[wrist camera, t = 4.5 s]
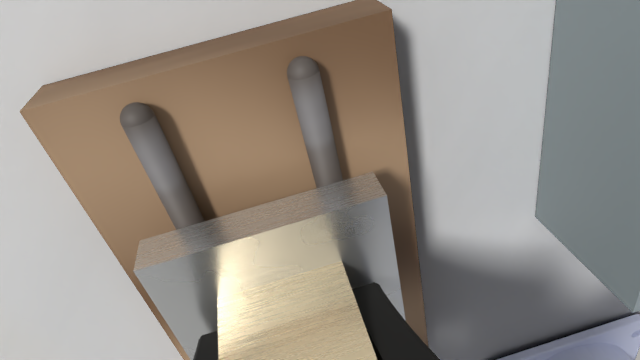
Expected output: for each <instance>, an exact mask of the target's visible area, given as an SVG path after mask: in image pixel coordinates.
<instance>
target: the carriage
mask: <svg viewBox="0 0 640 360" xmlns="http://www.w3.org/2000/svg"><path fill="white" fill-rule="evenodd" d="M133 272H134V273H135V275H136V276H137V278H138V279H139V281H140V282H141V284H142V286H143V287H144V289H145V290H146V292H147V293H148V295H149V296H150V298H151V299H152V301H153V303H154V304H155V306H156V307H157V309H158V310H159V312H160V313H161V315H162V316H163V318H164V320H165V321H166V323H167V324H168V326H169V327H170V329H171V330H172V332H173V333H174V335H175V337H176V338H177V340H178V341H179V343H180V344H181V346H182V347H183V349H184V350H185V352H186V354H187V355H188V357H189V358H190V360H193V358H194V355H195V351H196V348H197V344H198V340H199V339H200V337H201V336H202V335H205V334H208V333H211V332H214V331H217V330H218V360H377V357H376V355H375V352H374V349H373V346H372V344H371V341H370V338H369V335H368V333H367V330H366V327H365V324H364V321H363V319H362V316H361V313H360V310H359V308H358V305H357V302H356V299H355V296H354V294H353V291H352V289H353V288H357V287H360V286H363V285H366V284H370V283H373V282H375V283H378V284H379V285H380V286H381V288H382V290H383V291H384V293H385V294H386V296H387V297H388V299H389V300H390V301H391V303H392V304H393V306H394V307H395V308H396V310H397V311H398V312H399V313H400V315H401V316H402V317H403V318H404V320H405V321H406V319H405V313H404V306H403V299H402V293H401V286H400V279H399V273H398V266H397V259H396V253H395V246H394V239H393V233H392V226H391V219H390V213H389V206H388V199H387V195H386V193H385V191H384V190H383V188H382V186H381V184H380V183H379V181H378V179H377V178H376V176H375V174H374V173H373V172H370V173H366V174H363V175H360V176H356V177H353V178H350V179H346V180H343V181H339V182H336V183H333V184H329V185H326V186H323V187H319V188H316V189H312V190H309V191H306V192H302V193H299V194H295V195H292V196H289V197H285V198H282V199H279V200H275V201H272V202H268V203H265V204H262V205H258V206H255V207H252V208H248V209H245V210H241V211H238V212H235V213H231V214H228V215H225V216H221V217H218V218H214V219H211V220H208V221H204V222H201V223H197V224H194V225H191V226H187V227H184V228H181V229H177V230H174V231H170V232H167V233H164V234H160V235H157V236H154V237H150V238H147V239H143V240H140V241H139V246H138V251H137V256H136V261H135V265H134V270H133Z"/></svg>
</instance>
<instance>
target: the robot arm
mask: <svg viewBox="0 0 640 360" xmlns="http://www.w3.org/2000/svg"><path fill="white" fill-rule="evenodd" d="M352 291H353V294H354V296H355V299H356V302H357V305H358V308H359V310H360V313H361V316H362V319H363V321H364V324H365V327H366V330H367V333H368V335H369V338H370V341H371V344H372V346H373V349H374V352H375V355H376V357H377V360H440V359H439V358H438V357H437V356H436V355H435V354H434V353H433V352H432V351H431V350H430V348H429V347H428V346H427V345H426V344H425V343H424V342H423V341H422V340H421V339H420V337H419V336H418V335H417V334H416V333H415V332H414V331H413V329H412V328H411V327H410V326H409V325H408V323H407V322H406V321H405V320H404V318H403V317H402V316H401V315H400V313H399V312H398V311H397V310H396V308H395V307H394V306H393V304H392V303H391V301H390V300H389V299H388V297H387V296H386V294H385V293H384V291H383V290H382V288H381V286H380V285H379V284H378V283H375V282H373V283H370V284H366V285H363V286H360V287H357V288H353V289H352ZM639 347H640V314H635V315H631V316H628V317H625V318H622V319H619V320H616V321H613V322H610V323H607V324H604V325H601V326H598V327H595V328H592V329H588V330H585V331H582V332H579V333H576V334H573V335H570V336H567V337H564V338H561V339H558V340H555V341H552V342H549V343H546V344H543V345H540V346H536V347H533V348H530V349H527V350H524V351H521V352H518V353H515V354H512V355H509V356H506V357H503V358H500V359H497V360H635V358H636V356H637V353H638V350H639ZM193 360H218V330H217V331H214V332H211V333H208V334H205V335H202V336H201V337H200V339H199V340H198V344H197V348H196V351H195V355H194V358H193Z"/></svg>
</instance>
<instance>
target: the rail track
mask: <svg viewBox="0 0 640 360" xmlns="http://www.w3.org/2000/svg"><path fill="white" fill-rule="evenodd" d="M20 113H21V114H22V116H23V117H24V119H25V120H26V122H27V123H28V125H29V127H30V128H31V130H32V131H33V133H34V134H35V136H36V137H37V139H38V140H39V142H40V143H41V145H42V146H43V148H44V149H45V151H46V152H47V154H48V155H49V157H50V158H51V160H52V161H53V163H54V164H55V166H56V167H57V169H58V170H59V172H60V173H61V175H62V176H63V178H64V179H65V181H66V182H67V184H68V185H69V187H70V188H71V190H72V191H73V193H74V194H75V196H76V198H77V199H78V201H79V202H80V204H81V205H82V207H83V208H84V210H85V211H86V213H87V214H88V216H89V217H90V219H91V220H92V222H93V223H94V225H95V226H96V228H97V229H98V231H99V232H100V234H101V235H102V237H103V238H104V240H105V241H106V243H107V244H108V246H109V247H110V249H111V250H112V252H113V253H114V255H115V256H116V258H117V259H118V261H119V262H120V264H121V265H122V267H123V269H124V270H125V272H126V273H127V275H128V276H129V278H130V279H131V281H132V282H133V284H134V285H135V287H136V288H137V290H138V291H139V293H140V294H141V296H142V297H143V299H144V300H145V302H146V303H147V305H148V306H149V308H150V309H151V311H152V312H153V314H154V315H155V317H156V318H157V320H158V321H159V323H160V324H161V326H162V327H163V329H164V330H165V332H166V333H167V335H168V336H169V338H170V340H171V341H172V343H173V344H174V346H175V347H176V349H177V350H178V352H179V353H180V355H181V356H182V358H183V359H184V360H190V358H189V357H188V355H187V354H186V352H185V350H184V349H183V347H182V346H181V344H180V343H179V341H178V340H177V338H176V337H175V335H174V333H173V332H172V330H171V329H170V327H169V326H168V324H167V323H166V321H165V320H164V318H163V316H162V315H161V313H160V312H159V310H158V309H157V307H156V306H155V304H154V303H153V301H152V299H151V298H150V296H149V295H148V293H147V292H146V290H145V289H144V287H143V286H142V284H141V282H140V281H139V279H138V278H137V276H136V275H135V273H134V272H133V270H134V265H135V261H136V256H137V251H138V246H139V241H140V240H143V239H147V238H150V237H154V236H157V235H160V234H164V233H167V232H170V231H174V230H177V229H181V228H184V227H187V226H191V225H194V224H197V223H201V222H204V221H208V220H211V219H214V218H218V217H221V216H225V215H228V214H231V213H235V212H238V211H241V210H245V209H248V208H252V207H255V206H258V205H262V204H265V203H268V202H272V201H275V200H279V199H282V198H285V197H289V196H292V195H295V194H299V193H302V192H306V191H309V190H312V189H316V188H319V187H323V186H326V185H329V184H333V183H336V182H339V181H343V180H346V179H350V178H353V177H356V176H360V175H363V174H366V173H370V172H373V173H374V174H375V176H376V178H377V179H378V181H379V183H380V184H381V186H382V188H383V190H384V191H385V193H386V195H387V199H388V206H389V213H390V219H391V226H392V233H393V239H394V246H395V253H396V259H397V266H398V273H399V279H400V286H401V293H402V299H403V306H404V313H405V319H406V322H407V323H408V325H409V326H410V327H411V328H412V329H413V331H414V332H415V333H416V334H417V335H418V336H419V337H420V339H421V340H422V341H423V342H424V343H425V344H426V345H427V346H428V339H427V330H426V321H425V312H424V303H423V293H422V284H421V275H420V266H419V257H418V247H417V238H416V229H415V220H414V211H413V202H412V192H411V183H410V174H409V165H408V156H407V146H406V137H405V128H404V119H403V110H402V101H401V91H400V82H399V73H398V64H397V55H396V45H395V36H394V27H393V18H392V9H390V8H389V7H387V6H385V5H384V4H382V3H381V2H379V1H377V0H355V1H352V2H348V3H344V4H341V5H337V6H333V7H330V8H326V9H322V10H319V11H315V12H311V13H308V14H304V15H300V16H297V17H293V18H289V19H286V20H282V21H278V22H275V23H271V24H267V25H264V26H260V27H256V28H253V29H249V30H245V31H242V32H238V33H234V34H231V35H227V36H223V37H220V38H216V39H212V40H209V41H205V42H201V43H197V44H194V45H190V46H186V47H183V48H179V49H175V50H172V51H168V52H164V53H161V54H157V55H153V56H150V57H146V58H142V59H139V60H135V61H131V62H128V63H124V64H120V65H117V66H113V67H109V68H106V69H102V70H98V71H95V72H91V73H87V74H84V75H80V76H76V77H73V78H69V79H65V80H62V81H58V82H54V83H50V84H47V85H43V86H42V87H41V88H40V89H39V90H38V91H37V93H36V94H35V95H34V96H33V97H32V98H31V99H30V100H29V102H28V103H27V104H26V105H25V106H24V107H23V108H22V109H21V110H20Z"/></svg>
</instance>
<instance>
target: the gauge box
mask: <svg viewBox="0 0 640 360" xmlns="http://www.w3.org/2000/svg"><path fill="white" fill-rule="evenodd" d="M535 217H536V218H537V219H538V220H539V221H540V222H541V223H542V224H543V225H544V226H545V227H546V228H547V229H548V230H549V231H550V232H551V233H552V234H553V235H554V236H555V237H556V238H557V239H558V240H559V241H560V242H561V243H562V244H563V245H564V246H565V247H566V248H567V249H568V250H569V251H570V252H571V253H573V254H574V255H575V256H576V257H577V258H578V259H579V260H580V261H581V262H582V263H583V264H584V265H585V266H586V267H587V268H588V269H589V270H590V271H591V272H592V273H593V274H594V275H595V276H596V277H597V278H598V279H599V280H600V281H601V282H602V283H603V284H604V285H605V286H606V287H607V288H608V289H609V290H610V291H611V292H612V293H613V294H614V295H615V296H616V297H617V298H618V299H619V300H620V301H621V302H622V303H623V304H624V305H625V306H626V307H627V308H628V309H629V310H630V311H632V312H633V313H634V312H637V311H640V0H556V9H555V19H554V29H553V40H552V50H551V60H550V70H549V81H548V91H547V101H546V111H545V122H544V132H543V142H542V153H541V163H540V173H539V183H538V194H537V204H536V214H535Z"/></svg>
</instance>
